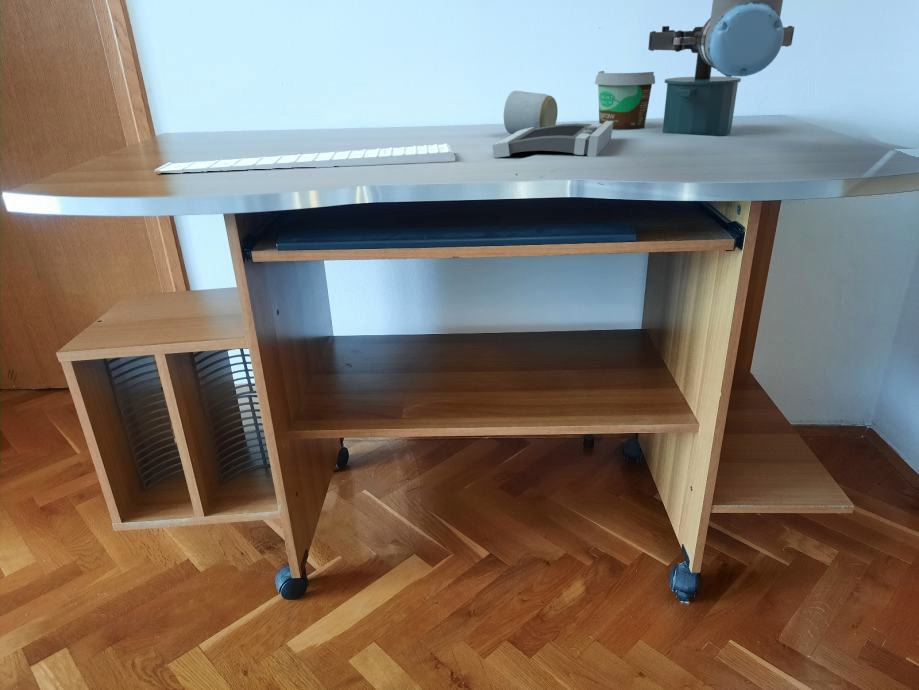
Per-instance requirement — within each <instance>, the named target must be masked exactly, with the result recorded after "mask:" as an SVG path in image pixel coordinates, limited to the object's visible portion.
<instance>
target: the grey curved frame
mask: <svg viewBox="0 0 919 690" xmlns="http://www.w3.org/2000/svg"><path fill="white" fill-rule="evenodd" d="M612 128H613V122H612V121H606V122H604V123H603V124H599V122H598V123H596V122H593V123H580V122H578V123H577V122H576V123H561V124H556V125H553V126H546V127H541V128H536V129H534V127H531V128H527V129H522V130H519V131H517V132H515V133H514V134H510V135H508V136H507V137H505V138H502V139H501V140H499V141H497V142H495V143H493V144H492V145H491V146H492V152H493V158H494V159H496V158H503V157H504V158H505V157H511V156H512V155H513V154H516V153H521V152H522V153H523V152H539V151H542V152H543V151H544V152H562V153H571V154H573V155H576V156H577V155H578V156H585V155H586V157H588V158H589V157H591V158H593V157H594V158H596V157H597V156H598V155H599V154H600V153H601V151H602V150H603V149H604V148H605V147H606V145H608V143H609V142H610V141H611V140H612V135H613V129H612Z"/></svg>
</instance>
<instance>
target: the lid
mask: <svg viewBox="0 0 919 690" xmlns="http://www.w3.org/2000/svg"><path fill="white" fill-rule="evenodd" d="M695 62H696V63H695V70H694V71H695V72H694V76H679V77H678V76H677V77H669V78H665V79H664V84H667V83H668V84H682V85H711V84H730V83H738V84H739V83H741V82H742V78H741V77H738V76H732V77H726V76H711V75H712V69H713V67H711V66H709V65H708V64H706V63H705V62H704V60H703V59H702V57H701V55H700V53H696V61H695Z"/></svg>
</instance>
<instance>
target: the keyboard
mask: <svg viewBox="0 0 919 690" xmlns="http://www.w3.org/2000/svg"><path fill="white" fill-rule="evenodd" d="M447 162H448V163H449V162H456V156H455V153H454V151H453V149H452V146H451V145H450V144H448V143H447V142H444V144H437V143H435V144H424V145H415V144H414V145H413V146H404V145H403V146H402V147H392V146H390V147H388V148H380V147H377V148H374V149H367V148H364V149H360V150H358V149H357V150H351V149H349V150H347V151H346V150H345V151H336V150H334V151H333V152H330V151H329V152H316V153H304V154H302V153H299V154H289V155H284V154H281V155H276V156H264V155H262V156H261V157H260V156H259V157H248V158H243V157H240V158H235V159H233V158H232V159H217V160H206V161H196V160H194V161H192V162H178V163H172V162H171V161H169V162H167V163H165V164H163V165H161V166H159V167H157V168H156V169H154V173H155V172H180V171H198V170H221V169H259V168H291V167H316V168H335V167H334V166H339V167H357V166H380V165H381V166H382V165H383V166H384V165H402V164H403V165H404V164H426V163H428V164H429V163H447Z"/></svg>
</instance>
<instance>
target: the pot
mask: <svg viewBox="0 0 919 690" xmlns="http://www.w3.org/2000/svg"><path fill="white" fill-rule="evenodd" d="M738 85H739V82H738V83H730V84H711V85H682V84H668V83H666V94H665V104H664V113H663V122H662V123H663V124H662V134H673V135H690V136H691V135H692V136H704V137H705V136H706V137H707V136H708V137H723V136H728V135H730V134H731V131H732V127H733V120H734V113H735V108H736V107H735V106H736V99H737V91H738V87H739V86H738Z"/></svg>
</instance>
